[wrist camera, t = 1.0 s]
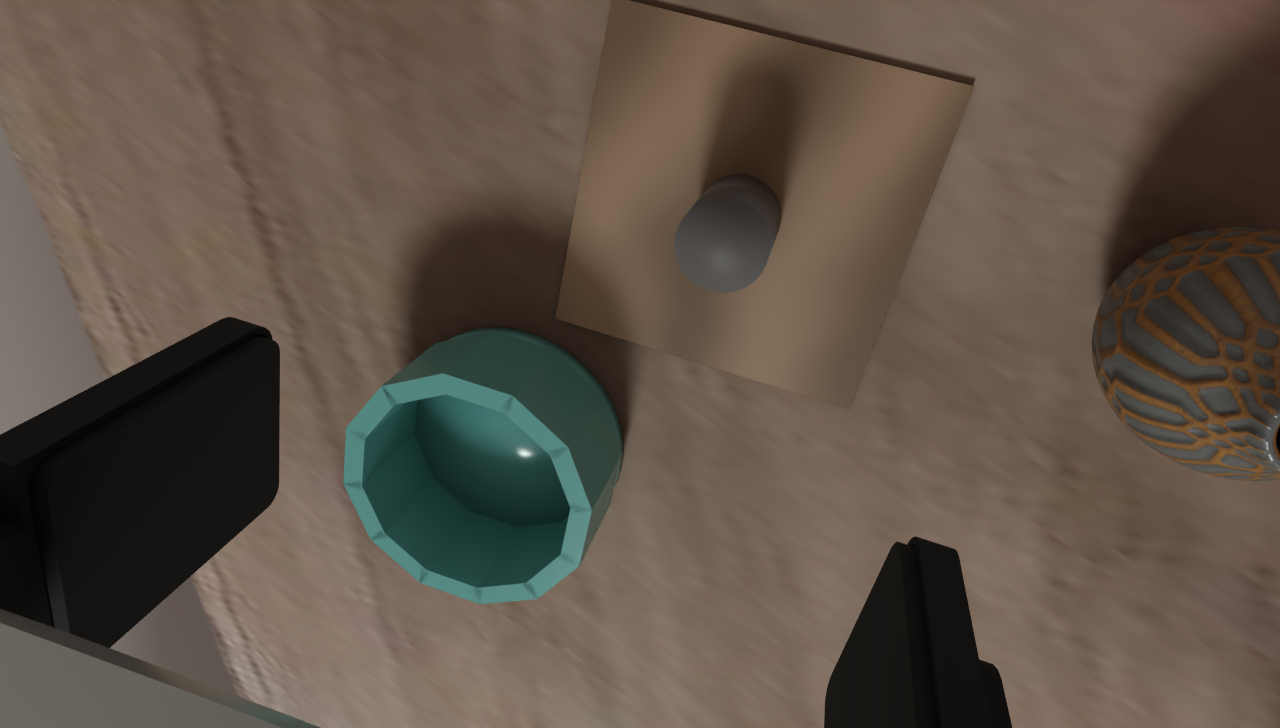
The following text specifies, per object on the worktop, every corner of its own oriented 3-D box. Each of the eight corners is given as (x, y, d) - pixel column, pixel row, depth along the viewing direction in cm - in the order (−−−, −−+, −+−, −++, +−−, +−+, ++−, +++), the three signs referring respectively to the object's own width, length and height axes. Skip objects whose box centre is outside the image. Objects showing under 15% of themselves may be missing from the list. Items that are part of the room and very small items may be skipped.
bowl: (645, 368, 32) (611, 427, 28) (599, 558, 36) (563, 634, 32) (418, 298, 33) (350, 343, 29) (400, 489, 38) (340, 554, 33)
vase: (1118, 432, 28) (1215, 594, 21) (1036, 269, 27) (1107, 378, 19) (1346, 350, 26) (1557, 501, 18) (1268, 162, 24) (1462, 238, 16)
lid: (970, 83, 26) (992, 100, 21) (849, 399, 31) (847, 462, 27) (619, -4, 27) (574, -5, 23) (561, 311, 33) (516, 358, 28)
